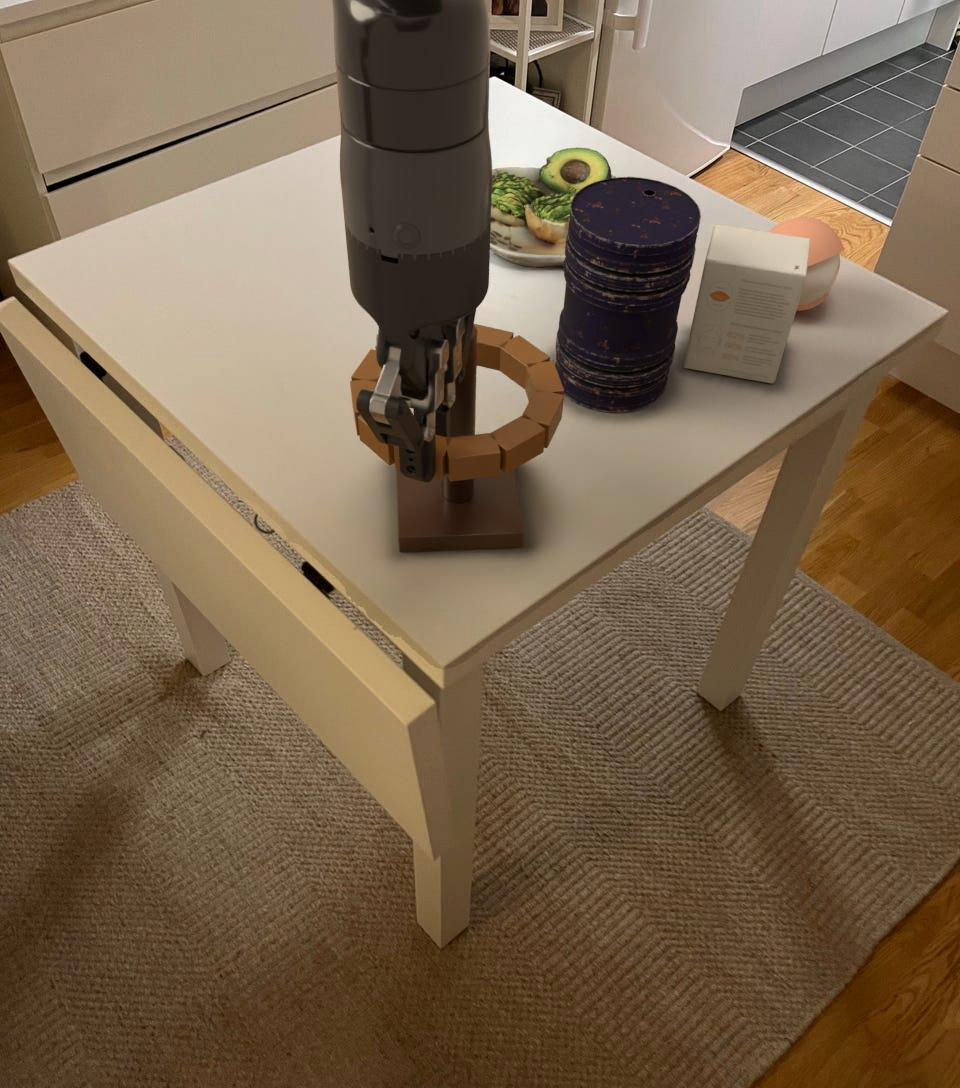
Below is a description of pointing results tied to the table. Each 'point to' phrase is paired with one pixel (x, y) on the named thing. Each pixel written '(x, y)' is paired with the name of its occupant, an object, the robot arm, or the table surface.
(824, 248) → the toy ball
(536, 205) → the avocado toast plate
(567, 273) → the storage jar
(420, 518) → the peg
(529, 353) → the ring
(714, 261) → the small box
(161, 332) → the table surface
